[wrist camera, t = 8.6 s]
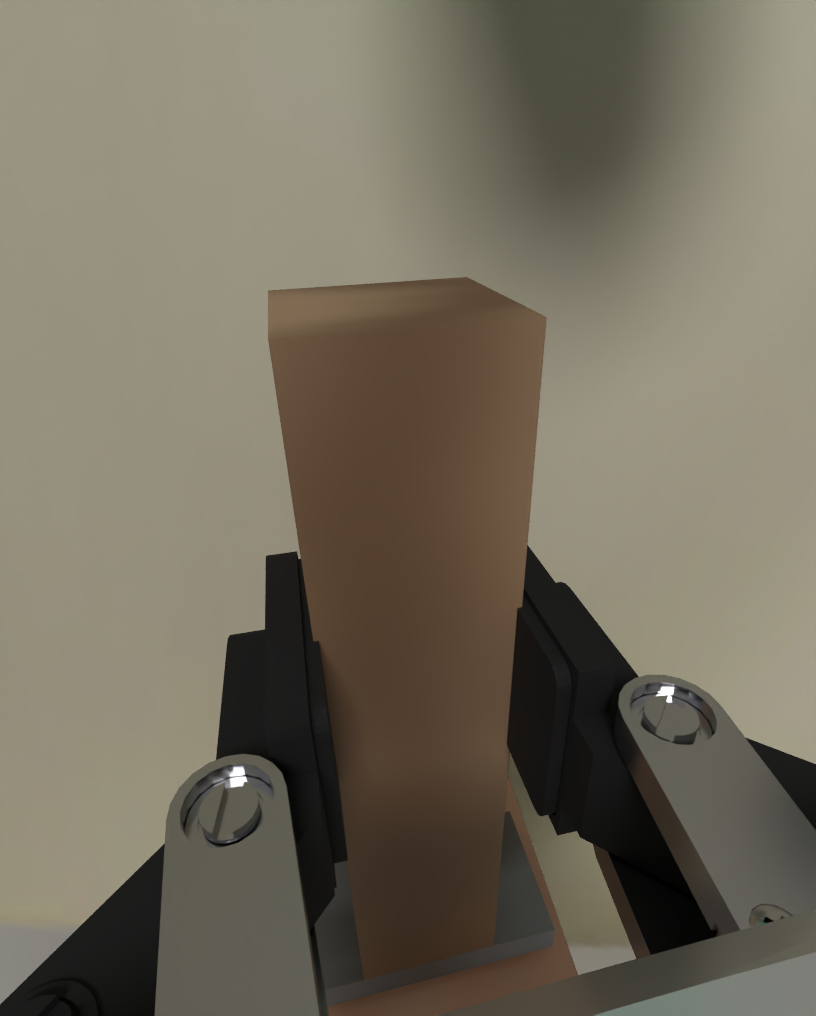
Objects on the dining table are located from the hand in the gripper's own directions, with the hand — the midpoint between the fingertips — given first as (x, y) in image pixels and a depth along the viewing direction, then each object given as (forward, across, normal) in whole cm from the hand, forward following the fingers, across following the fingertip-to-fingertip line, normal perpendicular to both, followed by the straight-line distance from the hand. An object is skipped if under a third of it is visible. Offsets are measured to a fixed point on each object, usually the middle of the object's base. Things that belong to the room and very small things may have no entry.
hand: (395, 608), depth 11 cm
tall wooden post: (+1, 0, +2) cm, 2 cm away
